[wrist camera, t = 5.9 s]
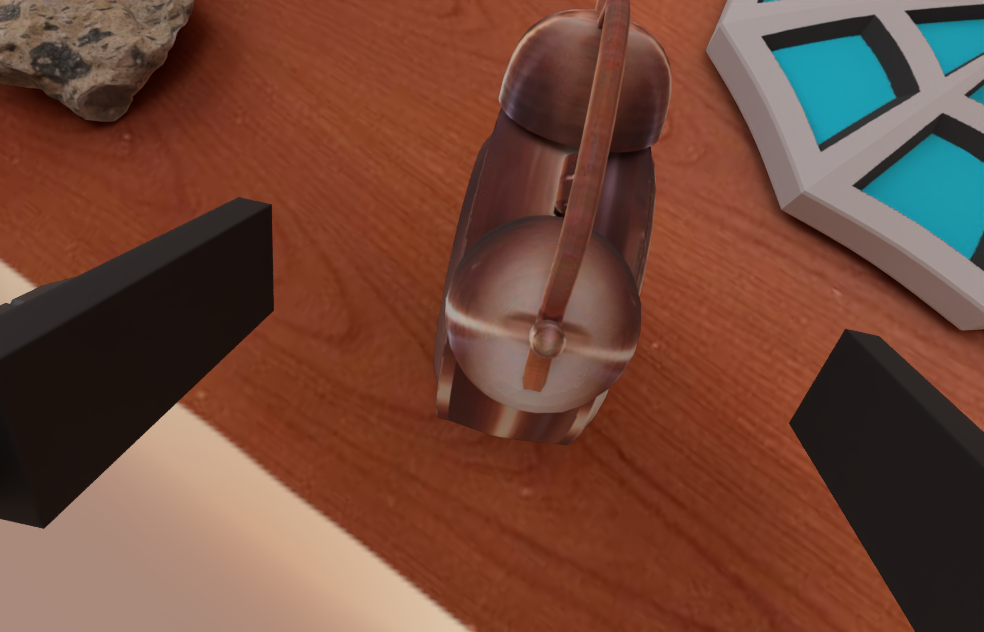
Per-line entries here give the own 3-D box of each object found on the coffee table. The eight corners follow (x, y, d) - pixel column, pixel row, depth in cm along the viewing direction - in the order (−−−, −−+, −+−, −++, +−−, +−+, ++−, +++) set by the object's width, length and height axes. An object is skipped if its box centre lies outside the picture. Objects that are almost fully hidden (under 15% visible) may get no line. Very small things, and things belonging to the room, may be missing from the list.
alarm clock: (546, 457, 22) (715, 438, 7) (433, 431, 22) (375, 361, 7) (588, 224, 25) (765, -114, 10) (489, 202, 25) (527, -166, 10)
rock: (36, 168, 24) (-51, 106, 20) (-66, 10, 26) (-165, -77, 22) (241, 59, 26) (200, -17, 22) (132, -79, 28) (77, -171, 24)
